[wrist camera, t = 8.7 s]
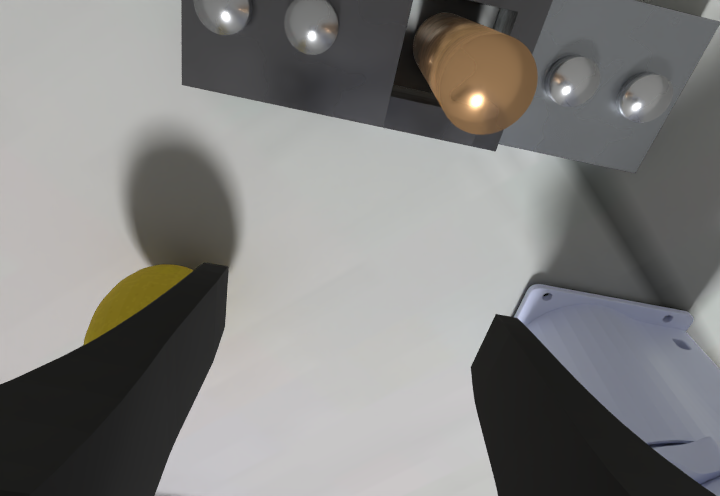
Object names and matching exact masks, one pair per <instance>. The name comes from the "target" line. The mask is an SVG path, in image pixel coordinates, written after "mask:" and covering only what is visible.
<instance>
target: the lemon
mask: <svg viewBox="0 0 720 496" xmlns="http://www.w3.org/2000/svg"><path fill="white" fill-rule="evenodd" d="M192 271H194V270H192V269H189V268H187V267H183V266H179V265H168V264H161V265H155V266H151V267H147V268H144V269H141V270H139V271H137V272H135V273H133V274H131V275H130V276H128V277H126V278H125V279H123V280H122V281H121V282H119V283H118V284H117V285H116V286H115V287H114V288H113V289H112V290H111V291H110V292H109V293H108V294H107V296H106V297H105V298H104V299H103V300H102V302H101V303H100V304H99V306H98V308H97V309H96V311H95V313H94V315H93V317H92V320H91V322H90V325H89V327H88V330H87V333H86V336H85V339H84V345H85V344H87V343H89V342H91V341H92V340H94V339H96V338H98V337H99V336H101V335H103V334H104V333H106V332H108V331H109V330H111V329H113V328H114V327H116V326H117V325H119V324H120V323H122V322H123V321H125V320H126V319H128V318H129V317H131V316H133V315H134V314H136V313H137V312H139V311H140V310H142V309H143V308H144V307H146V306H147V305H149V304H150V303H151V302H153V301H154V300H156V299H157V298H158V297H160V296H161V295H162V294H164V293H165V292H167V291H168V290H169V289H171V288H172V287H173V286H174V285H176V284H177V283H178V282H180V281H181V280H182V279H183V278H185V277H186V276H187V275H189V274H190V273H191V272H192Z"/></svg>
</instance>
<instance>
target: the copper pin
mask: <svg viewBox="0 0 720 496" xmlns="http://www.w3.org/2000/svg"><path fill="white" fill-rule="evenodd" d="M413 55H414V58H415V61H416V63H417V65H418V67H419V68H420V70H421V72H422V74H423V76H424V77H425V79H426V81H427V83H428V84H429V86H430V88H431V90H432V91H433V93H434V95H435V97H436V99H437V100H438V102H439V104H440V106H441V107H442V109H443V111H444V113H445V114H446V116H447V118H448V119H449V120H450V121H451V122H452V123H453V124H454V125H455V126H456V127H458V128H459V129H461V130H463V131H465V132H468V133H471V134H478V135H485V134H492V133H496V132H499V131H501V130H503V129H506V128H507V127H509V126H511V125H512V124H513V123H515V122H516V121H517V120H518V119H519V118H520V117H521V116H522V115H523V114H524V113H525V112H526V110H527V109H528V107H529V106H530V104H531V102H532V100H533V97H534V95H535V92H536V87H537V80H538V74H537V66H536V63H535V60H534V58H533V56H532V54H531V52H530V51H529V49H528V48H527V47H526V46H525V45H524V44H523V43H522V42H520V41H519V40H517V39H515V38H514V37H511V36H509V35H506V34H504V33H501V32H499V31H496V30H494V29H491V28H488V27H486V26H483V25H481V24H478V23H476V22H473V21H471V20H468V19H466V18H463V17H461V16H458V15H456V14H453V13H445V12H444V13H438V14H435V15H433V16H431V17H429V18H428V19H427V20H425V21H424V22H423V23H422V24H421V26H420V27H419V29H418V30H417V32H416V34H415V37H414V41H413Z"/></svg>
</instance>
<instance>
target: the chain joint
mask: <svg viewBox="0 0 720 496" xmlns="http://www.w3.org/2000/svg"><path fill="white" fill-rule="evenodd" d="M469 1H473V2H477V3H481V4H486V5H490V6H494V7H498V8H500V11H499V14H498V17H497V20H496V23H495V26H494V30H496V31H499V32H501V33H504V34H506V35H509V36H511V37H514V38H515V39H517V40H519V41H520V42H522V43H523V44H524V45H525V46H526V47H527V48H528V49H529V51H530V52H531V54H532V56H533V58H534V60H535V63H536V66H537V74H538V80H537V87H536V92H535V95H534V97H533V100H532V102H531V104H530V106H529V107H528V109H527V110H526V112H525V113H524V114H523V115H522V116H521V117H520V118H519V119H518V120H517V121H516V122H515V123H513V124H512V125H511V126H509V127H507V128H506V129H503V130H501V131H499V132H496V133H492V134H485V135H478V134H471V133H468V132H465V131H463V130H461V129H459V128H458V127H456V126H455V125H454V124H453V123H452V122H451V121H450V120H449V119H448V118H447V116H446V114H445V113H444V111H443V109H442V107H441V106H440V104H439V102H438V100H437V99H436V97H435V95H434V94H433V93H429V92H424V91H420V90H415V89H411V88H406V87H402V86H397V85H393V83H394V79H395V74H396V70H397V66H398V62H399V57H400V53H401V49H402V44H403V40H404V36H405V32H406V27H407V23H408V19H409V15H410V10H411V6H412V2H413V0H182V85H185V86H190V87H195V88H199V89H204V90H209V91H213V92H218V93H223V94H228V95H232V96H237V97H242V98H246V99H251V100H256V101H261V102H265V103H270V104H275V105H279V106H284V107H289V108H293V109H298V110H303V111H308V112H312V113H317V114H322V115H326V116H331V117H336V118H341V119H345V120H350V121H355V122H359V123H364V124H369V125H374V126H378V127H383V128H388V129H392V130H397V131H402V132H407V133H411V134H416V135H421V136H425V137H430V138H435V139H440V140H444V141H449V142H454V143H458V144H463V145H468V146H473V147H477V148H482V149H487V150H491V151H496V149H497V146H498V144H501V145H505V146H510V147H515V148H519V149H524V150H529V151H533V152H538V153H543V154H547V155H552V156H557V157H561V158H566V159H571V160H575V161H580V162H585V163H589V164H594V165H599V166H603V167H608V168H613V169H618V170H622V171H627V172H632V173H636V171H637V169H638V168H639V166H640V164H641V162H642V161H643V159H644V157H645V155H646V154H647V152H648V150H649V148H650V146H651V145H652V143H653V141H654V139H655V138H656V136H657V134H658V132H659V131H660V129H661V127H662V125H663V124H664V122H665V120H666V118H667V116H668V115H669V113H670V111H671V109H672V108H673V106H674V104H675V102H676V101H677V99H678V97H679V95H680V93H681V92H682V90H683V88H684V86H685V85H686V83H687V81H688V79H689V78H690V76H691V74H692V72H693V71H694V69H695V67H696V65H697V63H698V62H699V60H700V58H701V56H702V55H703V53H704V51H705V49H706V48H707V46H708V44H709V42H710V40H711V39H712V37H713V35H714V33H715V32H716V30H717V28H718V26H719V25H720V22H719V21H715V20H711V19H707V18H703V17H699V16H695V15H691V14H687V13H683V12H679V11H675V10H671V9H667V8H663V7H659V6H655V5H651V4H647V3H644V2H640V1H636V0H469Z"/></svg>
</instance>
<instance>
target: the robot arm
mask: <svg viewBox="0 0 720 496" xmlns="http://www.w3.org/2000/svg"><path fill="white" fill-rule="evenodd" d="M228 268H229V267H227V266H221V265H216V264H210V263H203V264H202V265H200V266H199V267H197V268H196V269H195V270H194V271H192V272H191V273H190V274H189V275H187V276H186V277H185V278H183V279H182V280H181V281H180V282H178V283H177V284H176V285H174V286H173V287H172V288H171V289H169V290H168V291H167V292H165V293H164V294H162V295H161V296H160V297H158V298H157V299H156V300H154V301H153V302H151V303H150V304H149V305H147V306H146V307H144V308H143V309H142V310H140V311H139V312H137V313H136V314H134V315H133V316H131V317H129V318H128V319H126V320H125V321H123V322H122V323H120V324H119V325H117V326H116V327H114V328H113V329H111V330H109V331H108V332H106V333H104V334H103V335H101V336H99V337H98V338H96V339H94V340H92V341H91V342H89V343H87V344H85V345H83V346H81V347H80V348H78V349H76V350H74V351H72V352H70V353H68V354H66V355H64V356H62V357H60V358H58V359H56V360H54V361H52V362H50V363H47V364H45V365H43V366H41V367H39V368H37V369H34V370H32V371H30V372H28V373H26V374H24V375H22V376H19V377H17V378H15V379H13V380H10V381H8V382H5V383H3V384H1V385H0V496H154V495H155V492H156V490H157V487H158V484H159V482H160V479H161V476H162V473H163V471H164V468H165V465H166V462H167V460H168V457H169V455H170V452H171V450H172V448H173V445H174V443H175V441H176V438H177V436H178V434H179V432H180V430H181V428H182V426H183V424H184V422H185V419H186V417H187V415H188V413H189V411H190V409H191V407H192V405H193V403H194V401H195V399H196V397H197V394H198V392H199V390H200V388H201V386H202V384H203V382H204V380H205V378H206V376H207V373H208V371H209V369H210V367H211V365H212V363H213V361H214V358H215V355H216V352H217V349H218V346H219V343H220V340H221V337H222V334H223V331H224V328H225V317H226V301H227V284H228ZM546 293H549V294H548V295H547V296H543V295H544V294H546ZM665 316H666V317H665ZM693 320H694V318H693V316H692V315H691V314H690V313H689V312H687V311H683V310H678V309H672V308H667V307H661V306H656V305H651V304H645V303H640V302H634V301H629V300H624V299H618V298H613V297H607V296H602V295H597V294H591V293H586V292H581V291H575V290H570V289H564V288H559V287H554V286H548V285H543V284H535V285H532V286H531V287H529V289H528V290H527V292H526V294H525V296H524V298H523V300H522V302H521V304H520V306H519V308H518V310H517V312H516V314H515V316H514V317H509V316H503V315H498V314H496V315H495V317H494V320H493V322H492V324H491V326H490V328H489V330H488V332H487V334H486V336H485V338H484V341H483V343H482V345H481V347H480V349H479V351H478V353H477V355H476V357H475V360H474V362H473V364H472V366H471V373H472V384H473V392H474V399H475V405H476V409H477V413H478V417H479V421H480V425H481V429H482V433H483V437H484V441H485V444H486V448H487V452H488V456H489V460H490V464H491V467H492V471H493V475H494V479H495V483H496V487H497V492H498V496H720V369H719V368H718V366H717V365H716V364H715V363H714V362H713V361H712V360H711V359H710V358H709V356H708V355H707V354H706V353H705V352H704V351H703V350H702V349H701V348H700V346H699V345H698V344H697V343H696V342H695V341H694V340H693V339H692V338H691V336H690V335H689V334H688V333H687V332H686V330H687V329H688V328H689V327H690V325H691V324H692V322H693Z"/></svg>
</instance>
